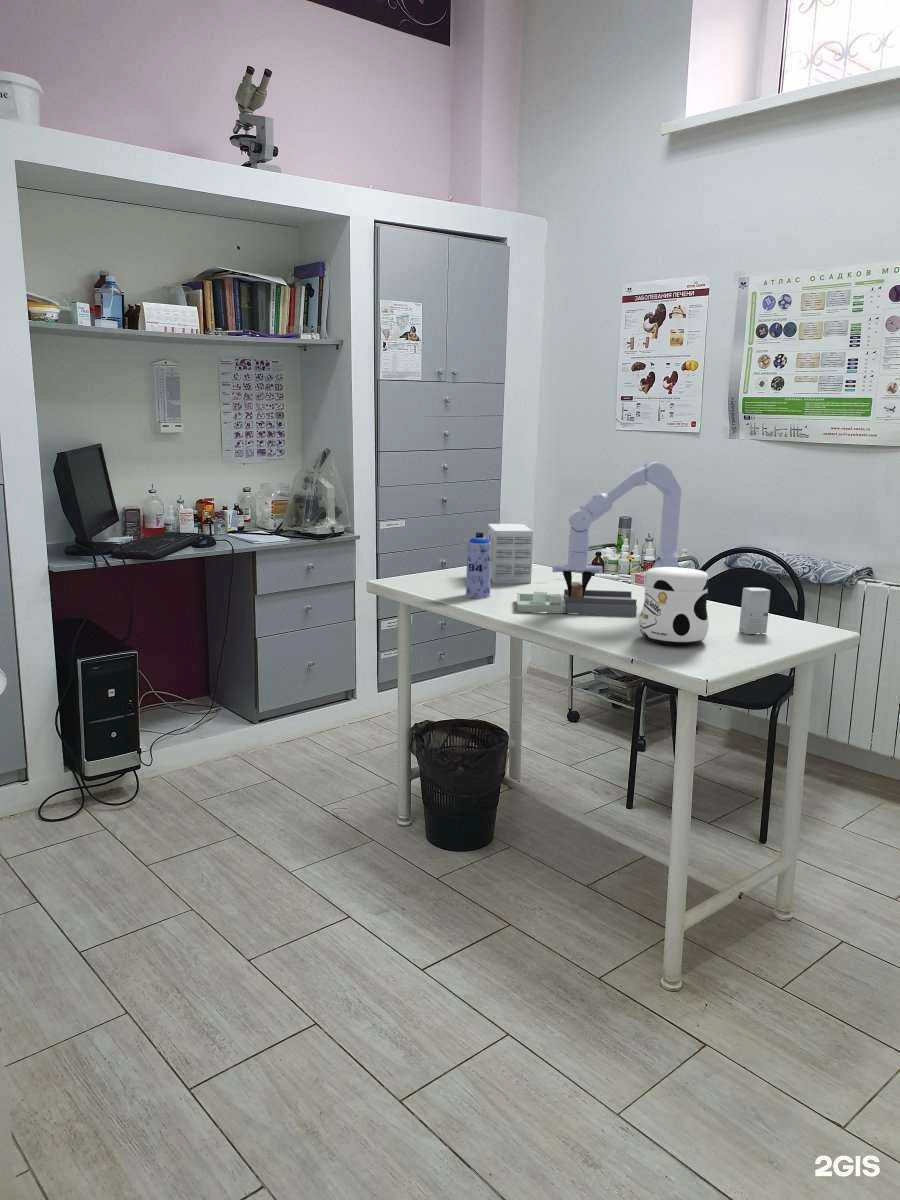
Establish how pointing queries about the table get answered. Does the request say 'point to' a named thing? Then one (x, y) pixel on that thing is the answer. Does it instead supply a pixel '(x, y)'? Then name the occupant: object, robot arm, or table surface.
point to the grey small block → (540, 598)
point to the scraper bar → (576, 589)
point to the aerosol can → (478, 567)
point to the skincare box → (754, 610)
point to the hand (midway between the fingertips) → (576, 596)
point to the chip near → (554, 599)
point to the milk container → (675, 606)
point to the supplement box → (510, 553)
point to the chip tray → (527, 604)
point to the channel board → (602, 603)
